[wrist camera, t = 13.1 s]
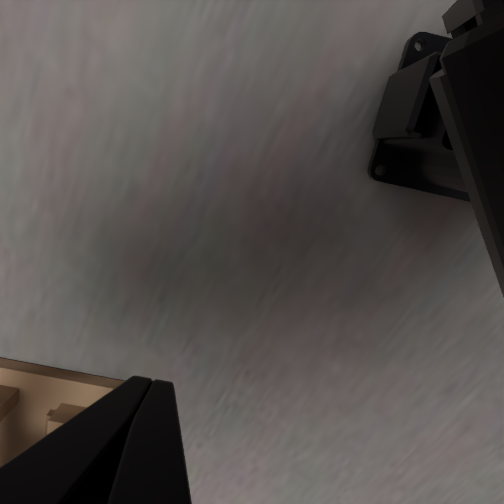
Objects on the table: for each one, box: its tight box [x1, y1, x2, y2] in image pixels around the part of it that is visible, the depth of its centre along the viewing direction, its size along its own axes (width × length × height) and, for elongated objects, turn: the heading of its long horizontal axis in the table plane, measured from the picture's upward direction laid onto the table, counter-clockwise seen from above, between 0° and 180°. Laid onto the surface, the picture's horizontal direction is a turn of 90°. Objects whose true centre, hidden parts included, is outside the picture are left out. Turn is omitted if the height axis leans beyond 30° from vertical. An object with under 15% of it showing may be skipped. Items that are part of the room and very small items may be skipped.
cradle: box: [0, 358, 125, 467], centre depth 20 cm, size 15×10×5 cm, turn 78°
